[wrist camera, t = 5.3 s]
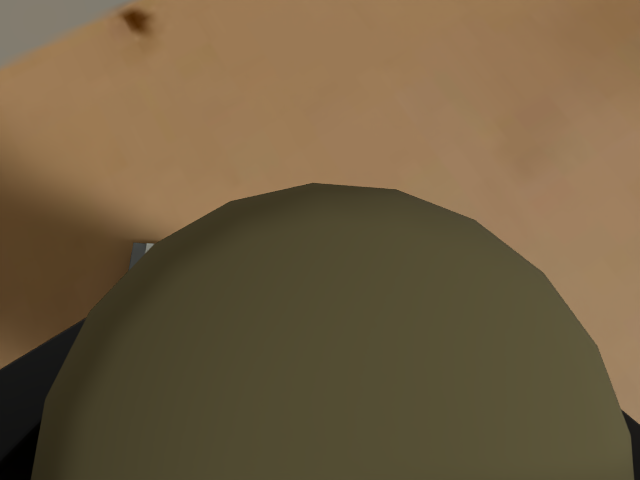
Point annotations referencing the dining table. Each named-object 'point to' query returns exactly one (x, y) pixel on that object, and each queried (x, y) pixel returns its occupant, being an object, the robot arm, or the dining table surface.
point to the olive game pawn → (333, 355)
